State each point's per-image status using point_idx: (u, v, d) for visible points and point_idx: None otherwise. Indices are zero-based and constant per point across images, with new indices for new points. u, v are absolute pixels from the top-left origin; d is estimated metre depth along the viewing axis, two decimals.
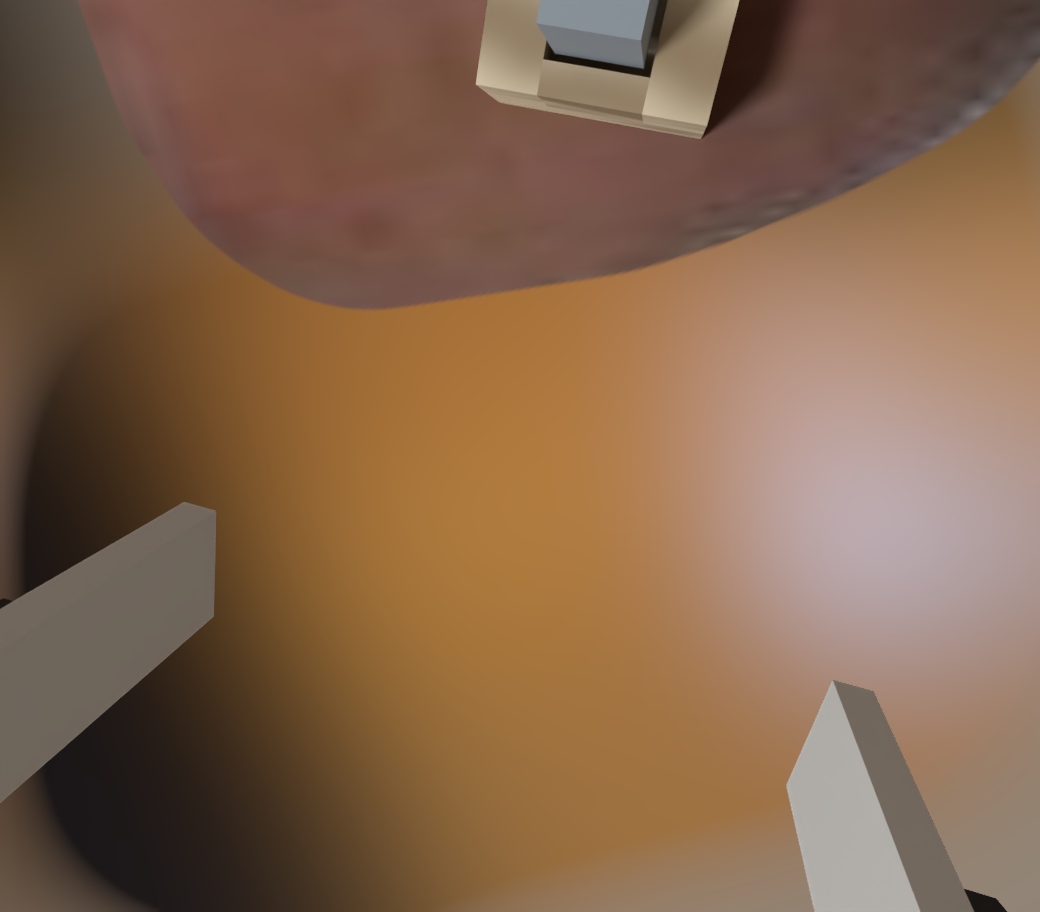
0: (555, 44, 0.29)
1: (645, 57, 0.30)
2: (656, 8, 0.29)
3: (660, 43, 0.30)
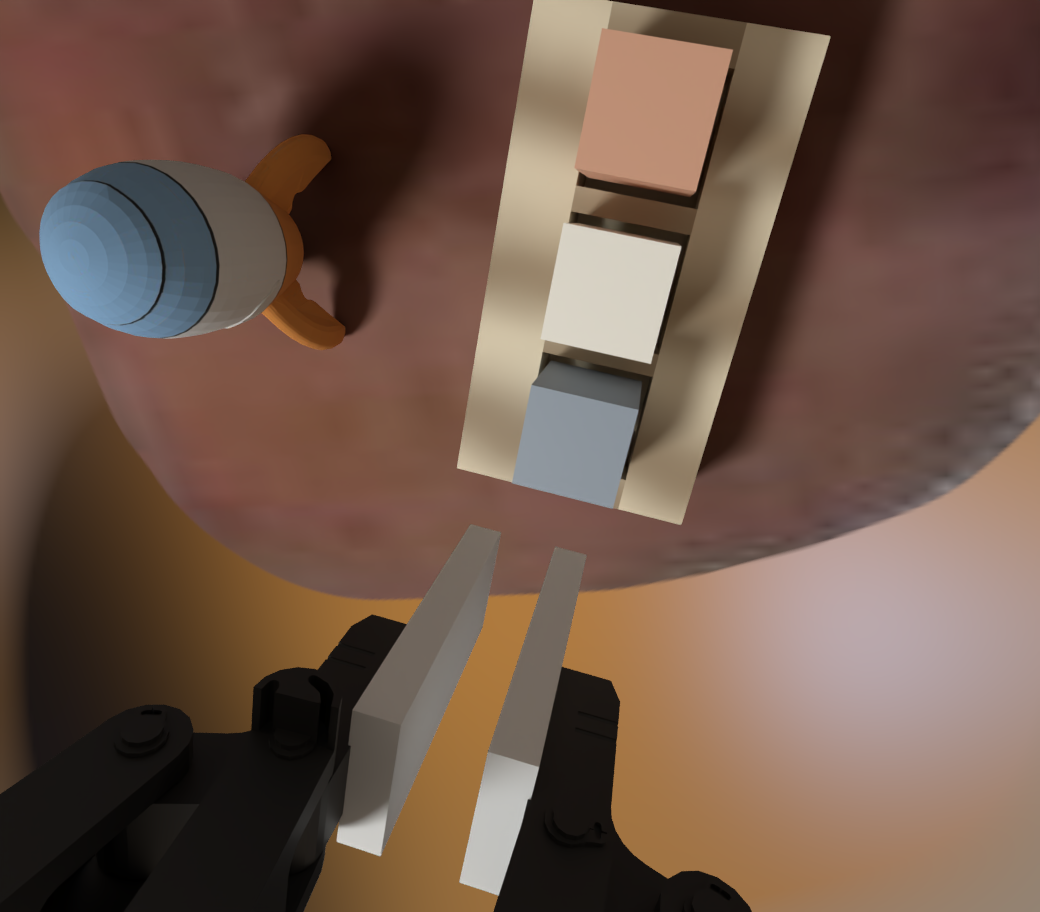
0: None
1: None
2: None
3: (635, 453, 0.30)
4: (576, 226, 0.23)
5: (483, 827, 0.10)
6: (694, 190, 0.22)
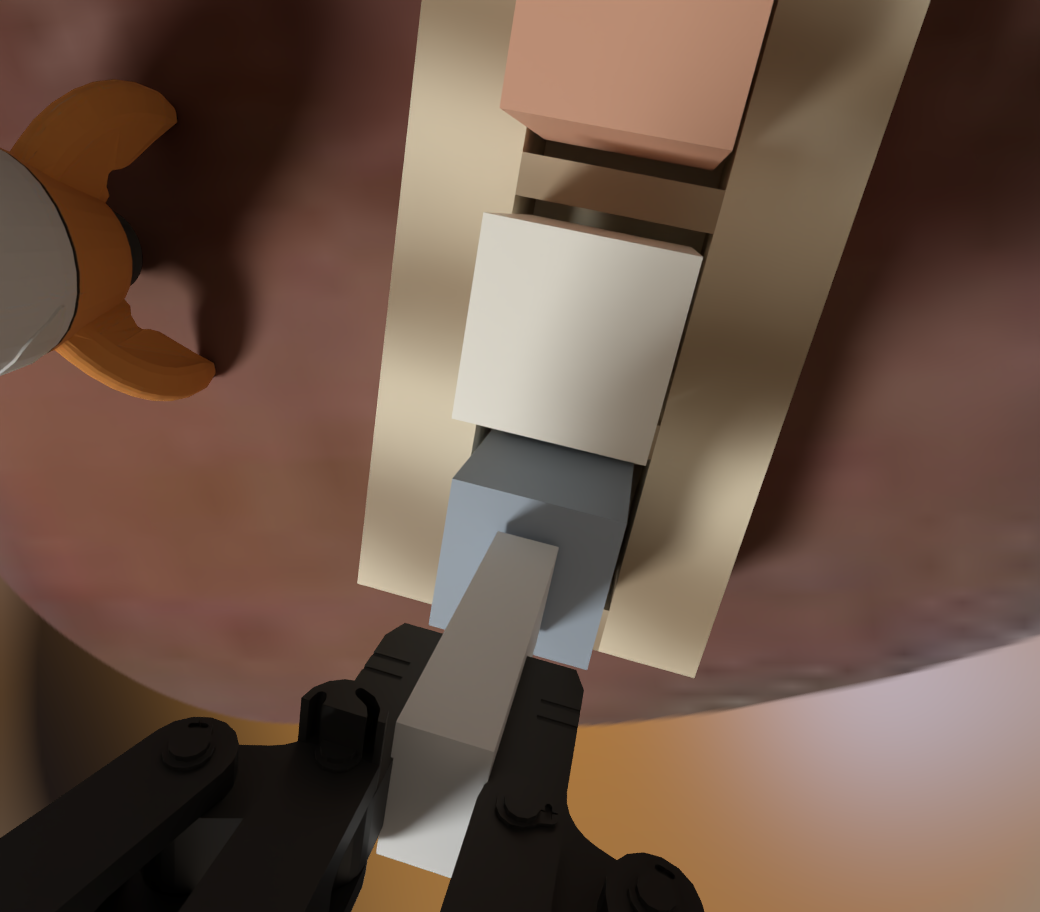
0: None
1: None
2: None
3: (623, 572, 0.20)
4: (507, 219, 0.13)
5: (441, 812, 0.10)
6: (729, 148, 0.12)
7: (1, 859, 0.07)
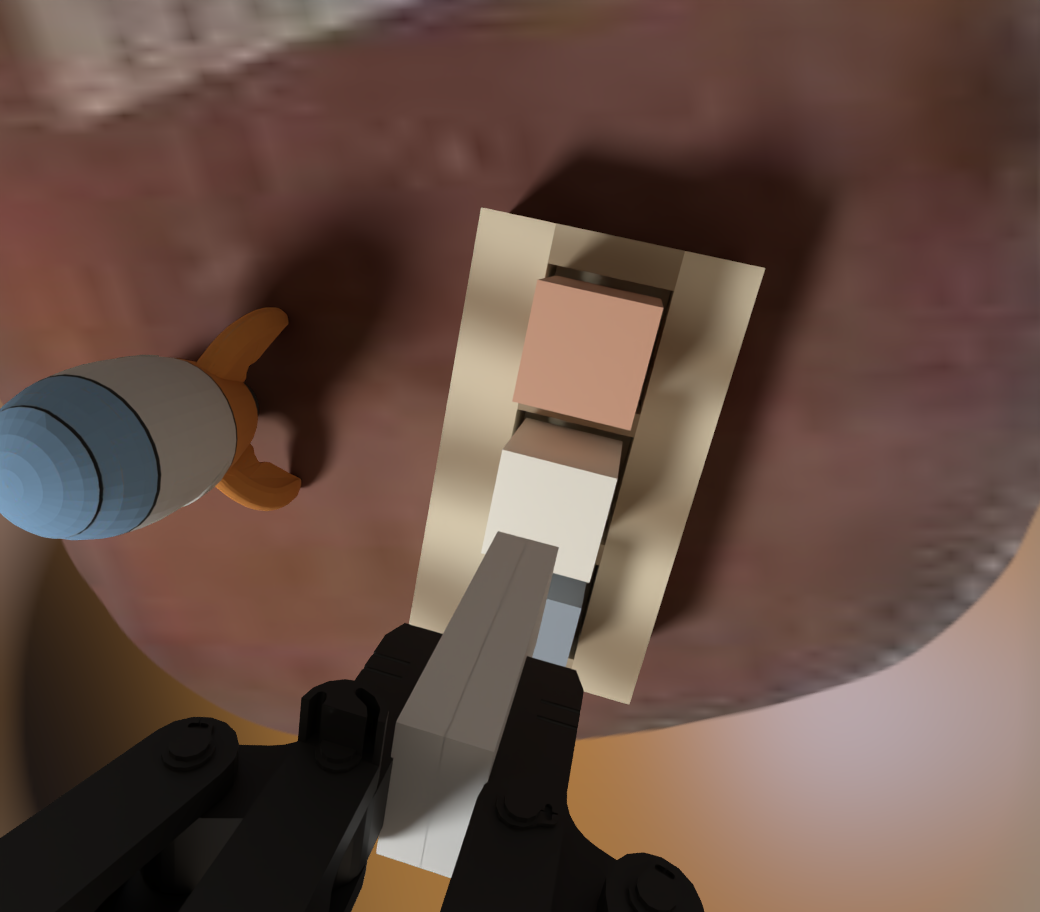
0: None
1: None
2: None
3: (583, 635, 0.30)
4: (515, 453, 0.24)
5: (441, 812, 0.10)
6: (629, 429, 0.23)
7: (1, 859, 0.07)
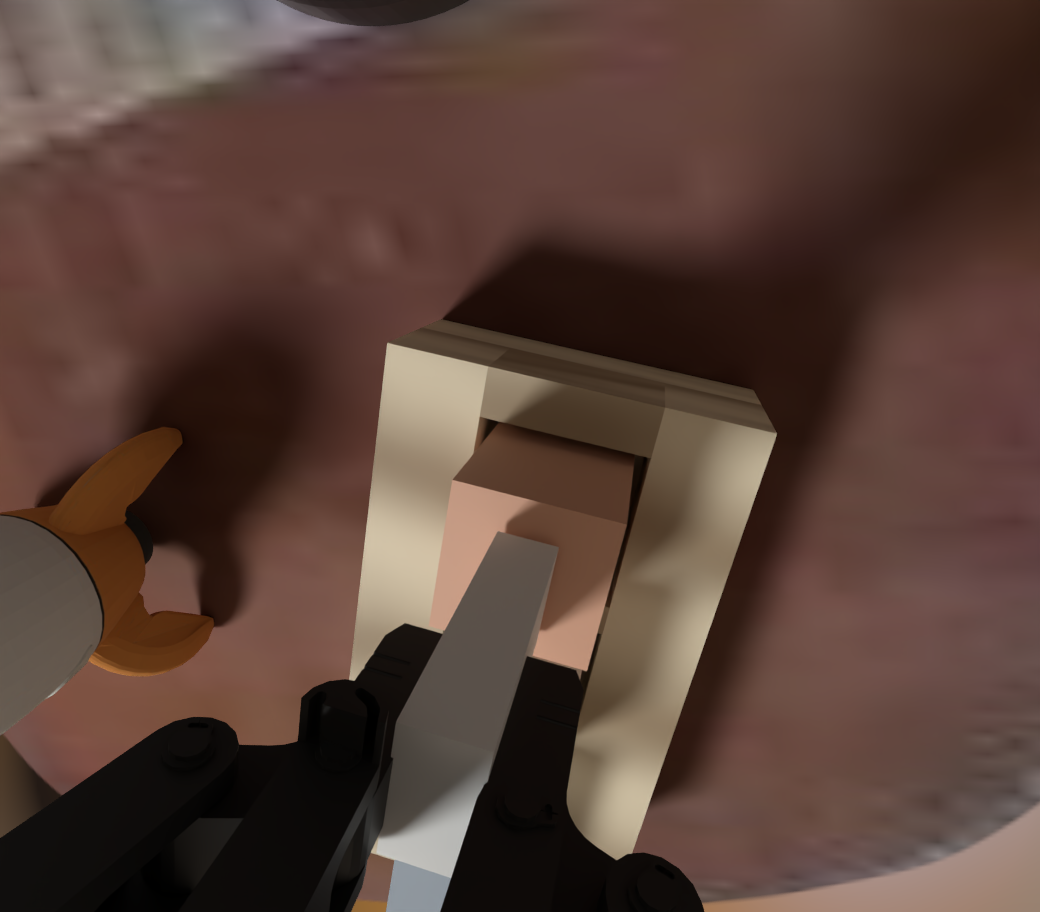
0: None
1: None
2: None
3: None
4: None
5: (441, 812, 0.10)
6: (584, 669, 0.17)
7: (1, 859, 0.07)
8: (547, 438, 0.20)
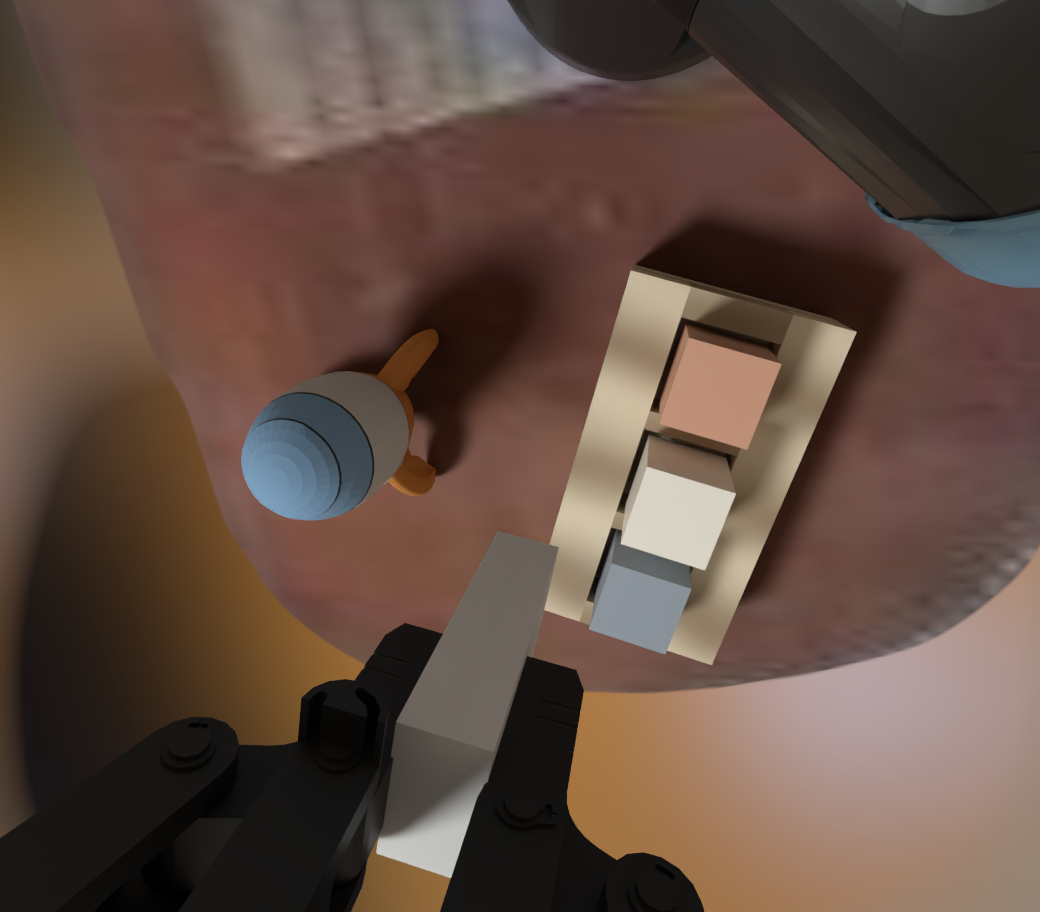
0: None
1: None
2: None
3: None
4: (656, 470, 0.31)
5: (441, 812, 0.10)
6: (746, 448, 0.31)
7: (1, 859, 0.07)
8: (715, 332, 0.34)
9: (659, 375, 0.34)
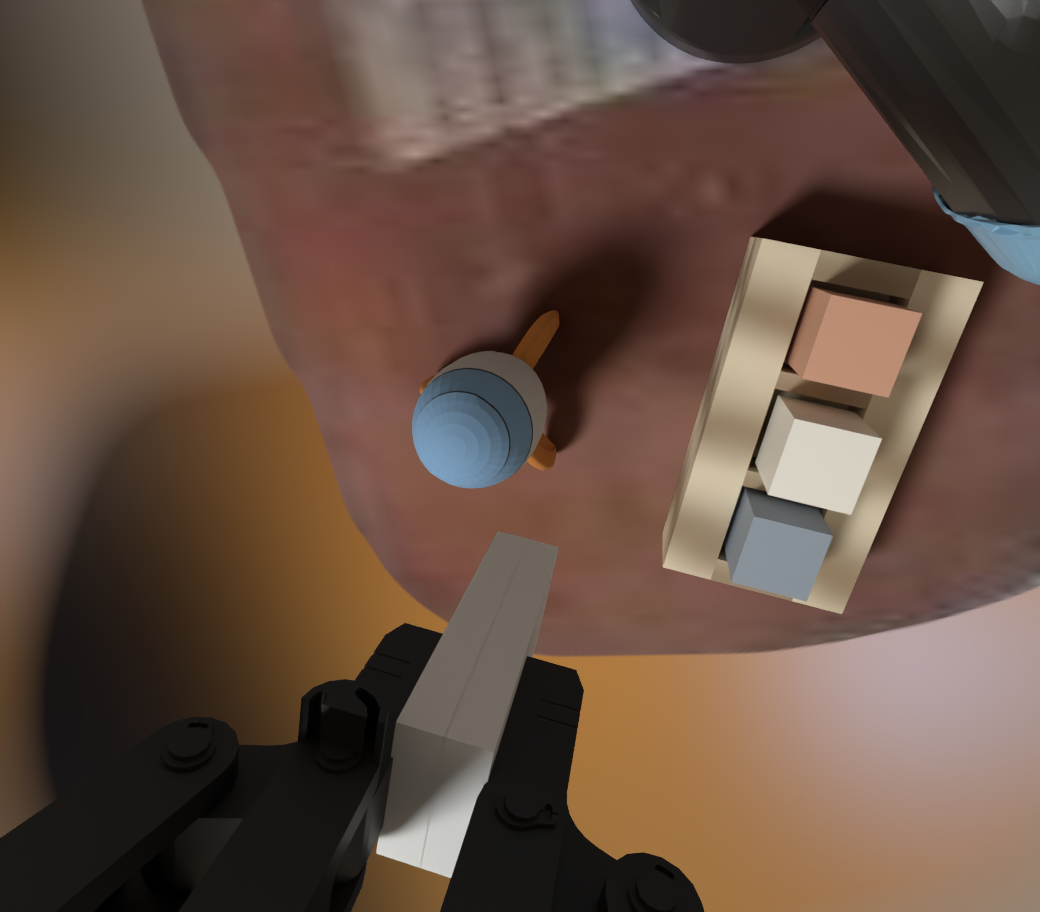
0: None
1: None
2: None
3: None
4: (804, 421, 0.33)
5: (441, 812, 0.10)
6: (887, 396, 0.33)
7: (1, 859, 0.07)
8: (841, 292, 0.36)
9: (790, 336, 0.36)
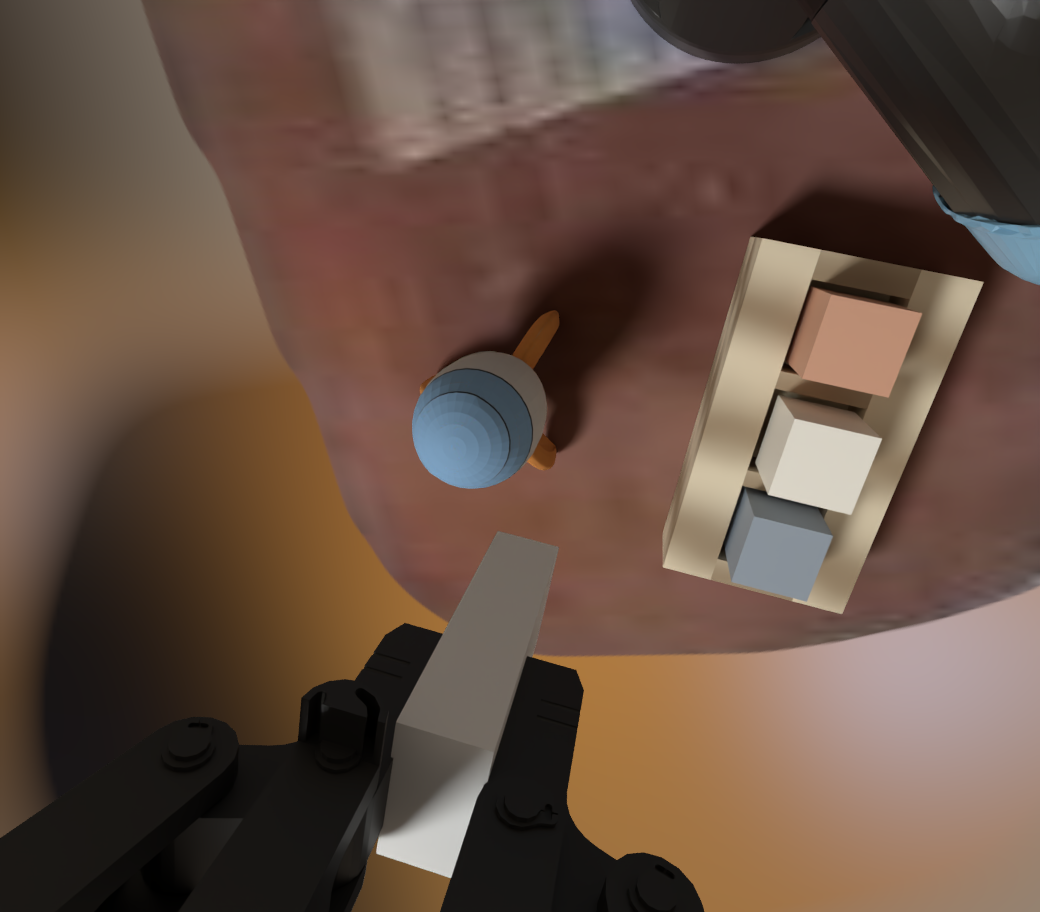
0: None
1: None
2: None
3: None
4: (804, 421, 0.33)
5: (441, 812, 0.10)
6: (887, 396, 0.33)
7: (1, 859, 0.07)
8: (841, 292, 0.36)
9: (790, 336, 0.36)
